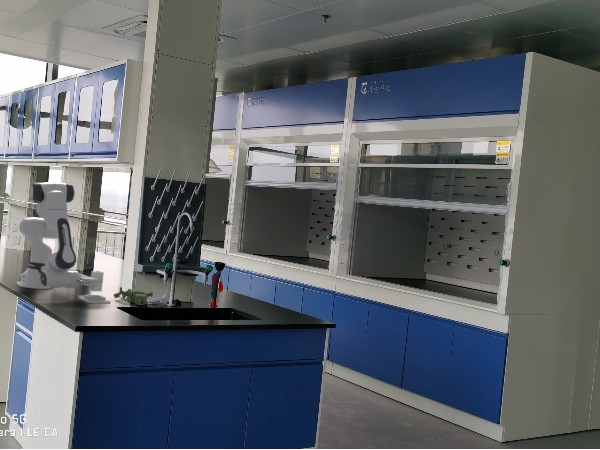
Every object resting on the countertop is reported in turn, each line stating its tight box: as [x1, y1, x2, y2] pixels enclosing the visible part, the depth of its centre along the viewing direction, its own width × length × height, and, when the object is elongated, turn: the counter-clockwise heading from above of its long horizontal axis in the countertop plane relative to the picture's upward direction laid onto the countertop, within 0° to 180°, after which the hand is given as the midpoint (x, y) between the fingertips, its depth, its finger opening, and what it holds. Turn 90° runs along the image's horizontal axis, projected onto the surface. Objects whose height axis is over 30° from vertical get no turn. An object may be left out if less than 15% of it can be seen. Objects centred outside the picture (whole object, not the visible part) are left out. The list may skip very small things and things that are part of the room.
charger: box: [89, 270, 105, 293], centre depth 357 cm, size 4×4×10 cm
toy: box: [113, 286, 154, 305], centre depth 372 cm, size 21×8×30 cm
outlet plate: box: [78, 294, 111, 304], centre depth 358 cm, size 14×11×3 cm
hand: (98, 280), depth 358 cm, fingers closed on charger, 4 cm apart
